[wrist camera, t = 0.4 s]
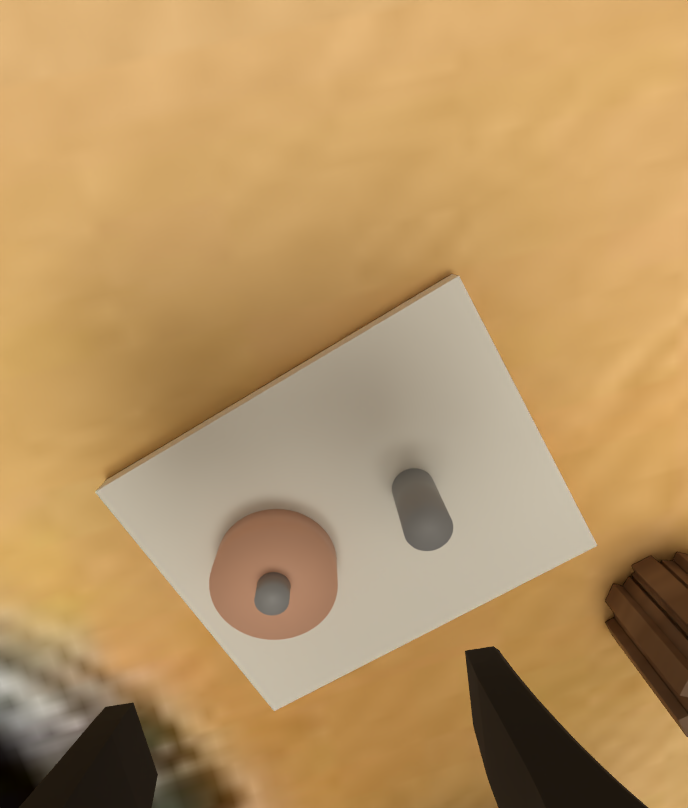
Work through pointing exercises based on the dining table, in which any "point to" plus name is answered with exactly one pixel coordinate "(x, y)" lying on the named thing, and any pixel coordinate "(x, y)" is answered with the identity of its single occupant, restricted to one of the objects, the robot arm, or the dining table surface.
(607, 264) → the dining table surface
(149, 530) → the gear board
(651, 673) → the walnut pinion gear
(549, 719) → the robot arm
